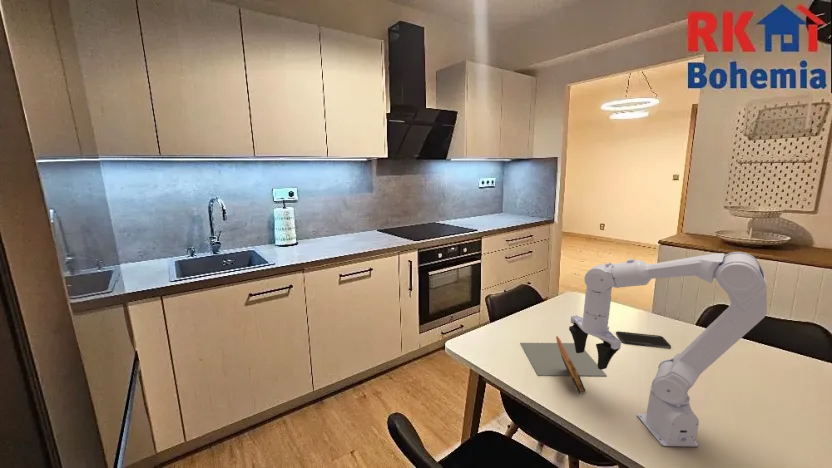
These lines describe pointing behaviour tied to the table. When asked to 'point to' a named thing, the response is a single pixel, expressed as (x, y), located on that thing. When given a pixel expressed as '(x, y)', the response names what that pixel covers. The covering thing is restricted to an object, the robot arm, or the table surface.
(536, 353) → the mat
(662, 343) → the phone
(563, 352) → the ammunition clip
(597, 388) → the table surface
